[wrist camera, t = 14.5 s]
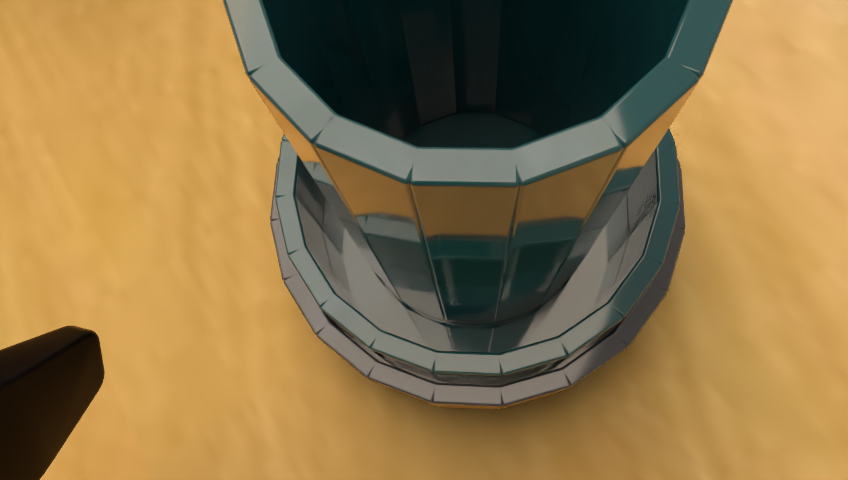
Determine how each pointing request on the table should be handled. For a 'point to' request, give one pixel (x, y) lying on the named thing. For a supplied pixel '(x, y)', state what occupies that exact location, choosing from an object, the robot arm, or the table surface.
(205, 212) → the table surface
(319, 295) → the stack top cup
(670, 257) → the stack base cup
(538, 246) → the teal cup
